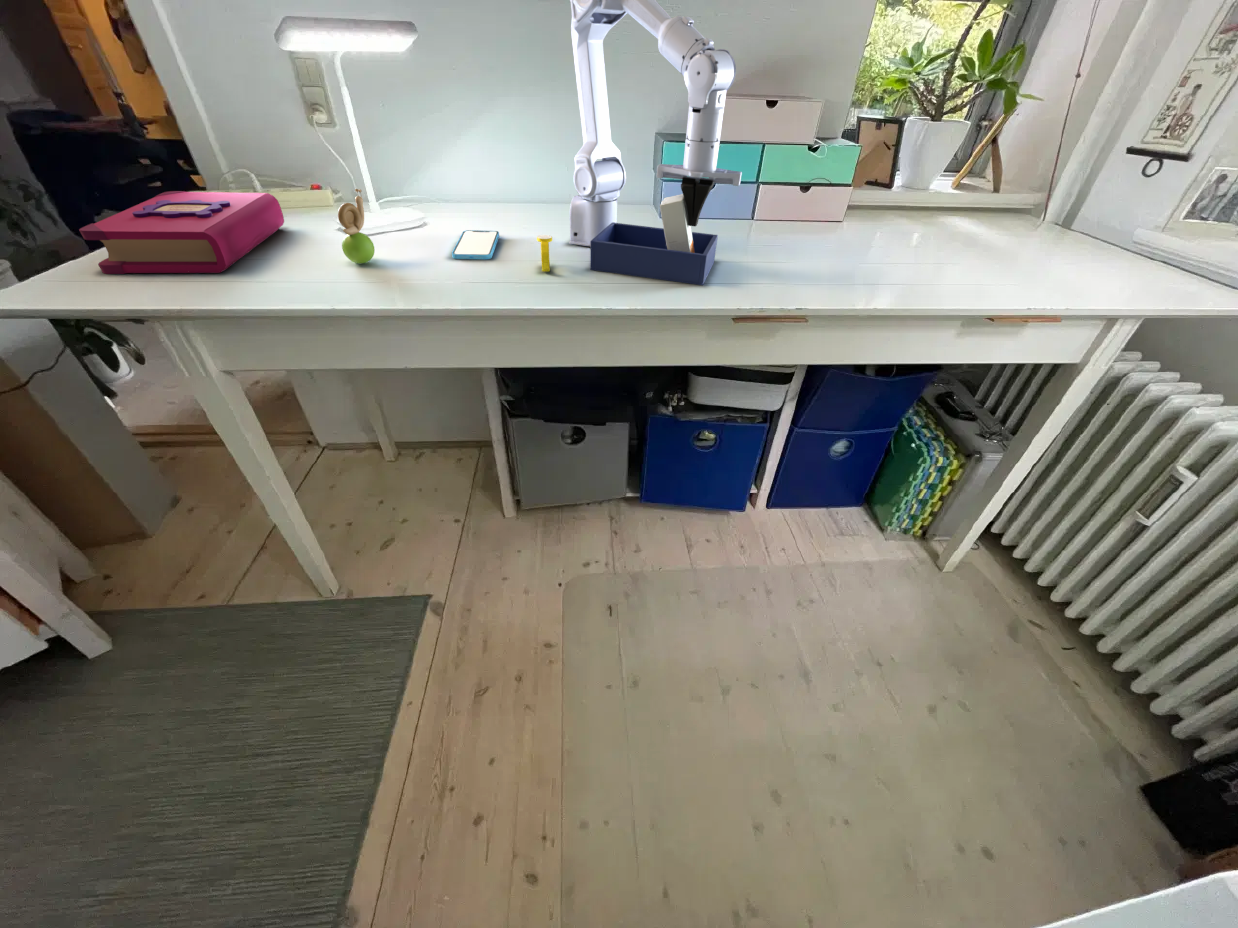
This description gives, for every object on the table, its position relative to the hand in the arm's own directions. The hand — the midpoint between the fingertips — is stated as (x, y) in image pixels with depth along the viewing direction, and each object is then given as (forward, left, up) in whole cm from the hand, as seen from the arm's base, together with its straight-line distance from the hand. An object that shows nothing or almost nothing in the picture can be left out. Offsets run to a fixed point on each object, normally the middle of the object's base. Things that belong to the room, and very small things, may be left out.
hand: (692, 224), depth 101 cm
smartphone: (-43, -3, -9) cm, 44 cm away
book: (-90, -24, -9) cm, 94 cm away
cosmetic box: (-1, 0, -8) cm, 8 cm away
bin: (-7, 0, -8) cm, 11 cm away
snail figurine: (-58, -19, -9) cm, 62 cm away
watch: (-25, -10, -9) cm, 28 cm away
